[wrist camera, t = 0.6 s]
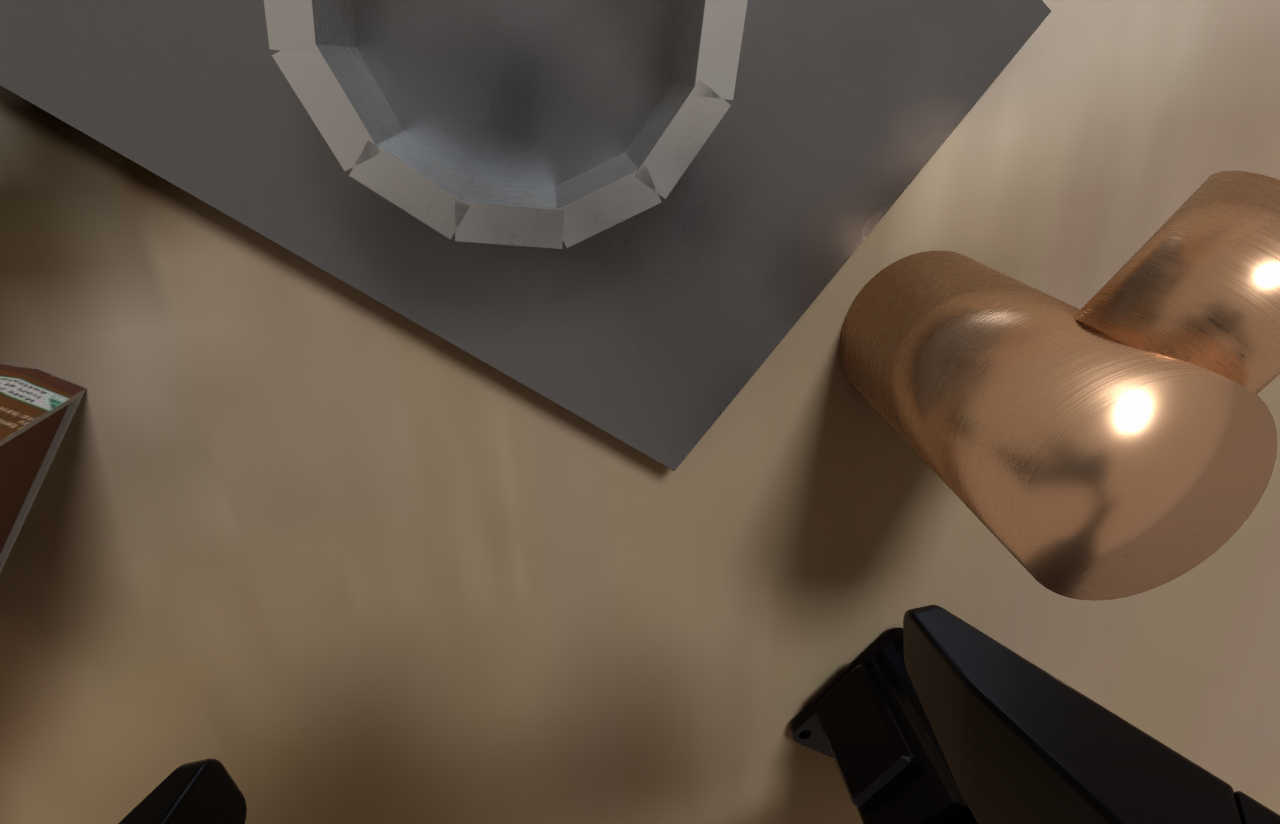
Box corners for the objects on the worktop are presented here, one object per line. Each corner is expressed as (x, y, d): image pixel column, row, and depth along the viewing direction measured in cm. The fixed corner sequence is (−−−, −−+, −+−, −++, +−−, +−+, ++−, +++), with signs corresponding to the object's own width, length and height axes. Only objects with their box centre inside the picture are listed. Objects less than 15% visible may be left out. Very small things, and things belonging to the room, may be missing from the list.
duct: (1025, 13, 17) (1148, 1, 14) (669, 454, 22) (692, 530, 18) (210, -894, 10) (34, -1388, 7) (-64, 28, 15) (-255, 18, 11)
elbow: (1112, 225, 20) (1479, 332, 12) (916, 432, 23) (1117, 634, 15) (1005, 117, 19) (1352, 160, 11) (806, 355, 21) (965, 534, 13)
